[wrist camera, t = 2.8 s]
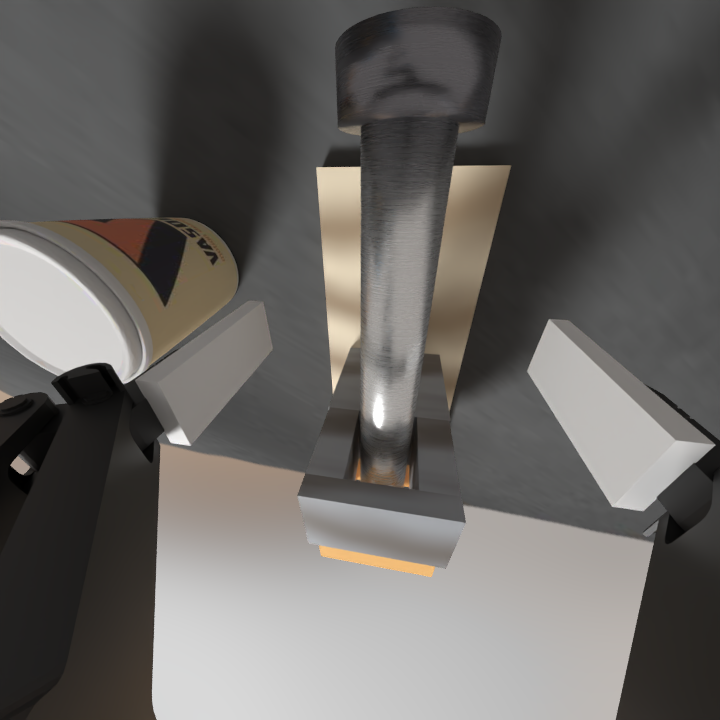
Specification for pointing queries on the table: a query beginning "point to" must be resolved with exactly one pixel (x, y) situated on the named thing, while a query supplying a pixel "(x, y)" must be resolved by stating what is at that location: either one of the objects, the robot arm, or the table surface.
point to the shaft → (405, 194)
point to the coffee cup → (109, 289)
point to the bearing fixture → (436, 389)
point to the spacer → (378, 560)
